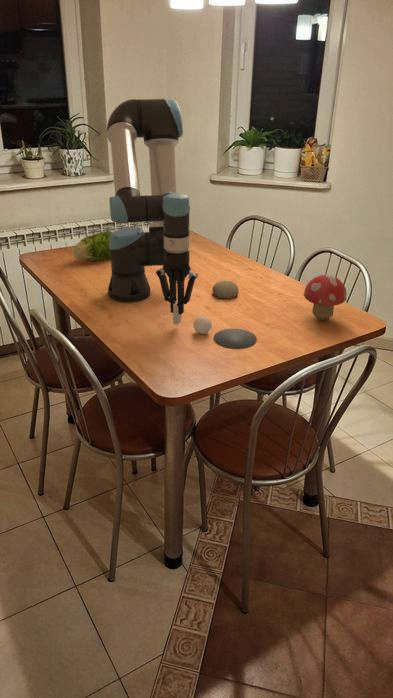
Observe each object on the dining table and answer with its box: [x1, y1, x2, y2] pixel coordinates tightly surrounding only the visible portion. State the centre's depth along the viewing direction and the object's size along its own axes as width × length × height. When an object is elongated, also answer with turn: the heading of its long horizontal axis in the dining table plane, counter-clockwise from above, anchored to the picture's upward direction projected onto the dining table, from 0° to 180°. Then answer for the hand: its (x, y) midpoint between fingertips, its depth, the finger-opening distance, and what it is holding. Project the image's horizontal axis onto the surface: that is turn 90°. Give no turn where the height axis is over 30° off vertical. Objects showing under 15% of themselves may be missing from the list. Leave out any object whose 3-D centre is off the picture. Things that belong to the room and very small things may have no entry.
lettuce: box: [72, 230, 114, 262], centre depth 220 cm, size 12×21×11 cm, turn 129°
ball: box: [193, 315, 212, 335], centre depth 162 cm, size 6×6×6 cm
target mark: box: [213, 328, 258, 350], centre depth 160 cm, size 13×13×1 cm
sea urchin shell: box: [212, 280, 239, 299], centre depth 190 cm, size 9×8×8 cm
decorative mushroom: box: [303, 274, 347, 321], centre depth 169 cm, size 13×13×15 cm
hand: (177, 322), depth 165 cm, fingers closed
